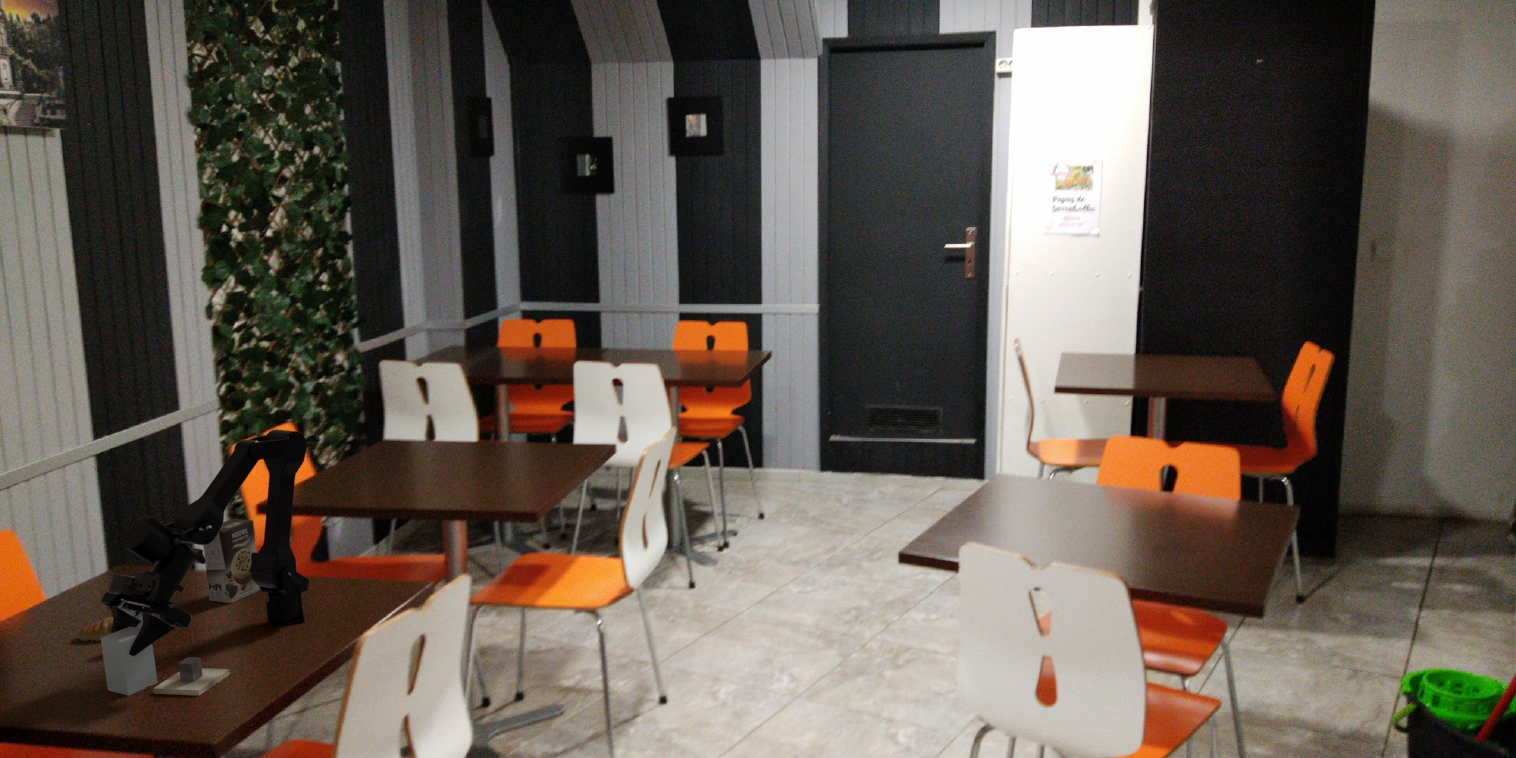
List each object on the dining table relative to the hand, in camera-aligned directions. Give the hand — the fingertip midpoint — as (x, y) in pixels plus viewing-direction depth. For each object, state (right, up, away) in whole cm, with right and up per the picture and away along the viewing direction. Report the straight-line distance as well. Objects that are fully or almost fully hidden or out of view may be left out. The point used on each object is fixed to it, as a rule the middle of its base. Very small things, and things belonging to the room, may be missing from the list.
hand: (120, 652), depth 218 cm
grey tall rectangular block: (+1, -7, +2) cm, 7 cm away
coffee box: (0, +1, +49) cm, 49 cm away
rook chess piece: (-7, -4, +23) cm, 24 cm away
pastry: (-17, -3, +28) cm, 33 cm away
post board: (+12, -6, +3) cm, 14 cm away
